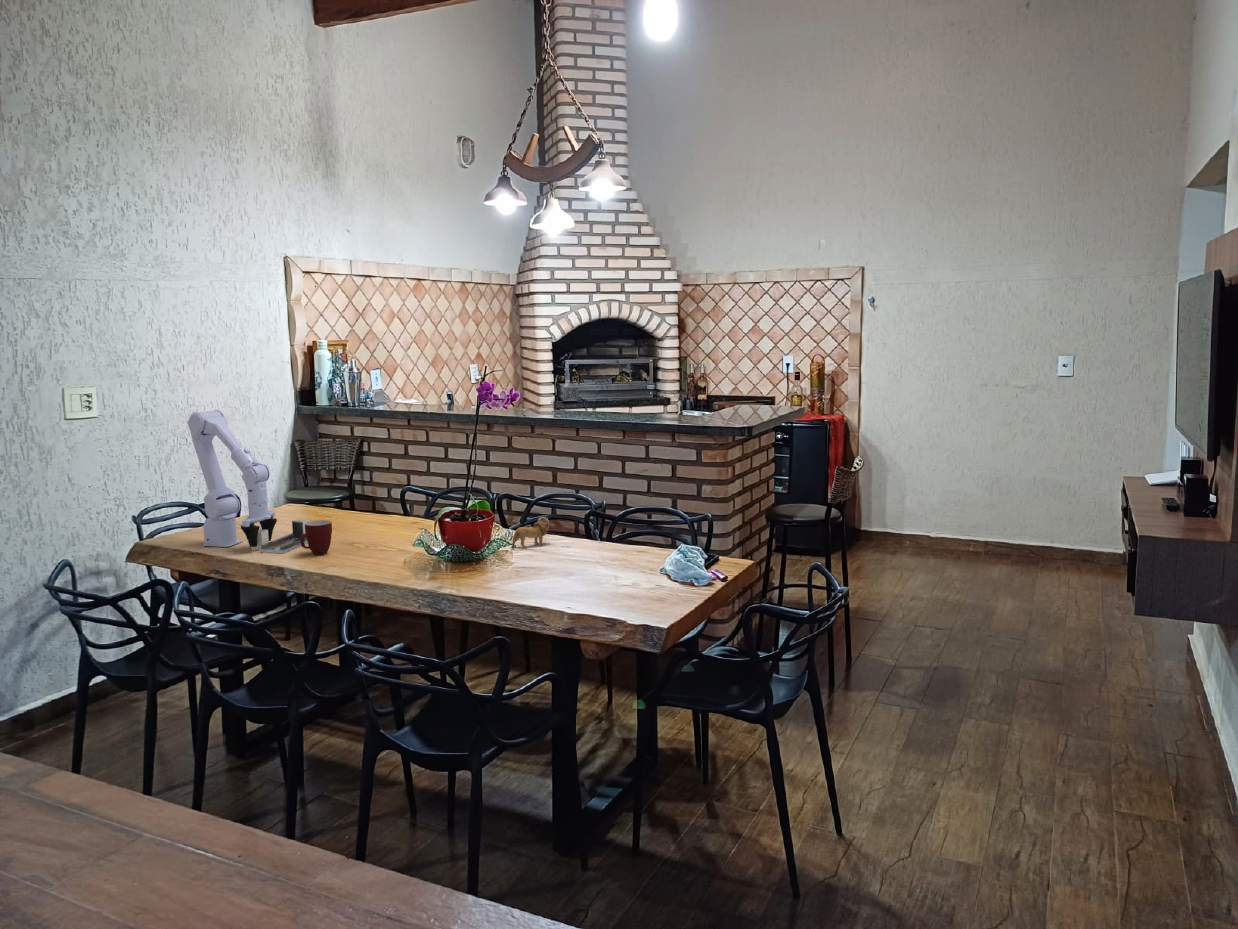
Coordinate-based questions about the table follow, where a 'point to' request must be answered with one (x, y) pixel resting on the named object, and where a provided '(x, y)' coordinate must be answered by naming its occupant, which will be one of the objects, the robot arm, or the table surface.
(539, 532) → the lion figurine
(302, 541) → the mug
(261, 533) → the white rectangular block
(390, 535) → the table surface
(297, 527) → the rail
